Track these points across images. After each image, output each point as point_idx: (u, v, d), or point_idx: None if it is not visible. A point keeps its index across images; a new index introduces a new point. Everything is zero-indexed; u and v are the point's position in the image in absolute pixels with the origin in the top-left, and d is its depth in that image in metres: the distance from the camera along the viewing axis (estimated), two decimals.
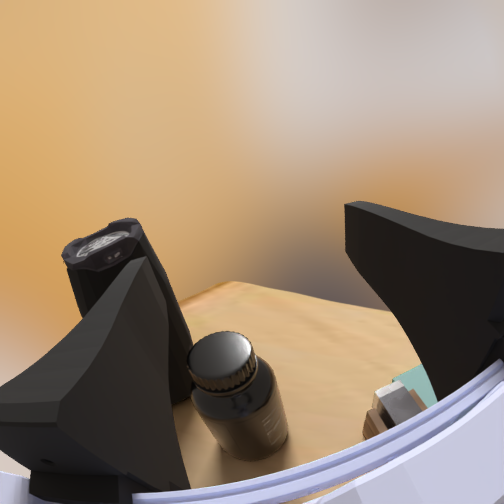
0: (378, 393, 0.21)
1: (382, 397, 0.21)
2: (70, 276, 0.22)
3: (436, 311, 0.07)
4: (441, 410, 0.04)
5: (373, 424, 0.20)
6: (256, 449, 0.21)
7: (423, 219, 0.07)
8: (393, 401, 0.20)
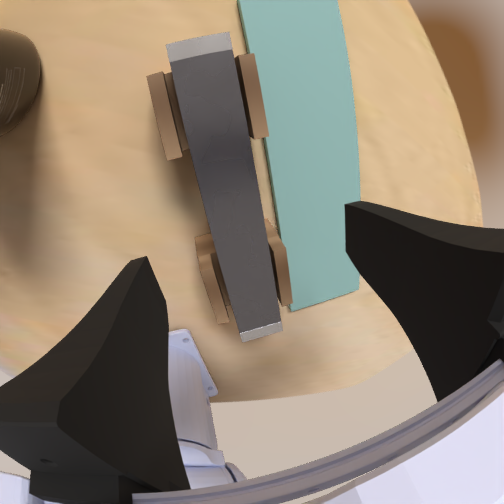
0: (171, 51, 0.09)
1: (177, 62, 0.10)
2: None
3: (436, 311, 0.07)
4: (441, 410, 0.04)
5: None
6: None
7: (423, 219, 0.07)
8: (196, 78, 0.10)
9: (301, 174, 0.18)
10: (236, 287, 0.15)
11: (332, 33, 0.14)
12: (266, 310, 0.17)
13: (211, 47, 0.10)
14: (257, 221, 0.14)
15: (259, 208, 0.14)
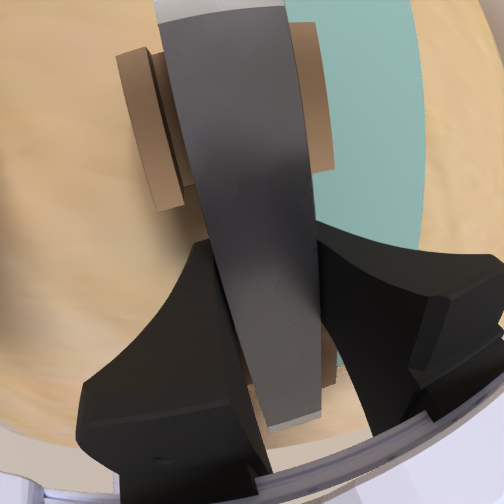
0: (163, 4, 0.04)
1: (173, 24, 0.04)
2: None
3: (362, 344, 0.06)
4: None
5: None
6: None
7: (356, 239, 0.07)
8: (212, 55, 0.05)
9: (354, 212, 0.13)
10: (269, 387, 0.10)
11: (399, 15, 0.08)
12: (305, 402, 0.11)
13: None
14: (310, 309, 0.09)
15: (315, 291, 0.08)
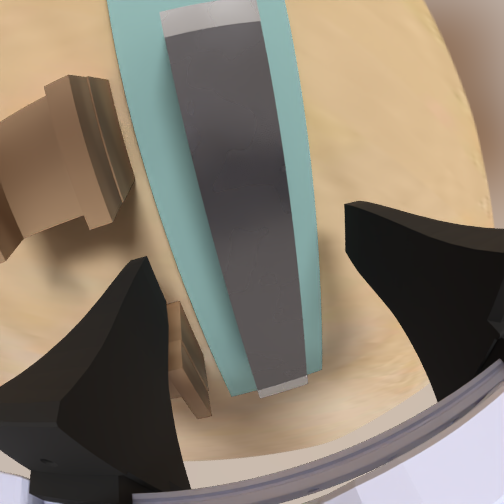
0: (168, 21, 0.06)
1: (176, 38, 0.06)
2: None
3: (436, 311, 0.07)
4: (441, 410, 0.04)
5: None
6: None
7: (423, 219, 0.07)
8: (205, 61, 0.06)
9: None
10: (257, 345, 0.12)
11: (263, 8, 0.08)
12: (291, 365, 0.13)
13: (229, 16, 0.06)
14: (288, 268, 0.10)
15: (292, 251, 0.10)
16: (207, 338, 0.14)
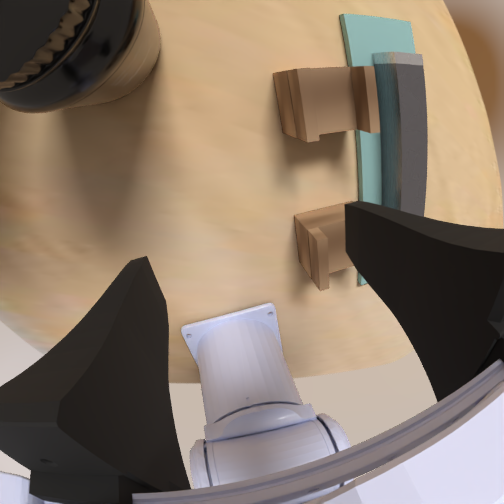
0: (396, 57, 0.14)
1: (399, 64, 0.14)
2: None
3: (436, 311, 0.07)
4: (441, 410, 0.04)
5: (298, 93, 0.14)
6: (107, 100, 0.12)
7: (423, 219, 0.07)
8: (407, 77, 0.15)
9: None
10: None
11: (407, 52, 0.16)
12: None
13: (414, 61, 0.14)
14: (423, 172, 0.18)
15: (426, 164, 0.18)
16: None
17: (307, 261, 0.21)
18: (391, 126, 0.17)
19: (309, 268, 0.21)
